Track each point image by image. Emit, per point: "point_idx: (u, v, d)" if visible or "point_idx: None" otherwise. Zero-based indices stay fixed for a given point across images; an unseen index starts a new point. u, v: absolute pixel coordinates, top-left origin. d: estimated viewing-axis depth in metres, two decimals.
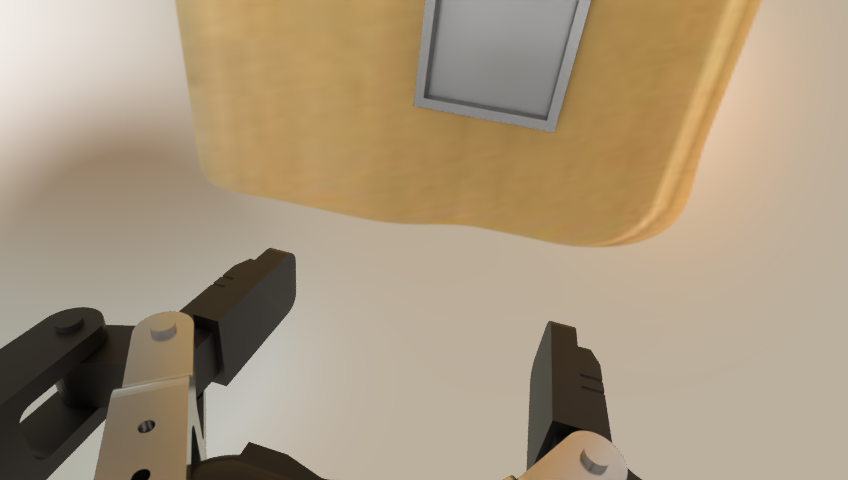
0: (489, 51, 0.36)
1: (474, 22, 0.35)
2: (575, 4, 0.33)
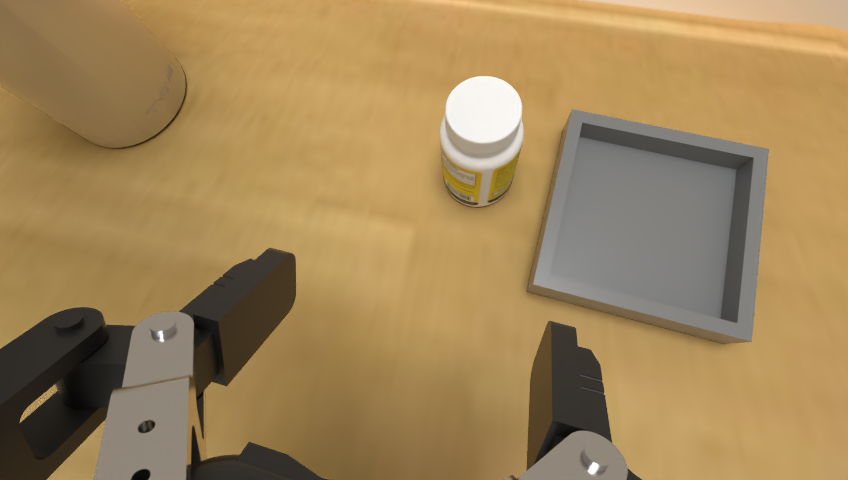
0: (656, 235, 0.28)
1: (621, 252, 0.27)
2: (605, 142, 0.30)
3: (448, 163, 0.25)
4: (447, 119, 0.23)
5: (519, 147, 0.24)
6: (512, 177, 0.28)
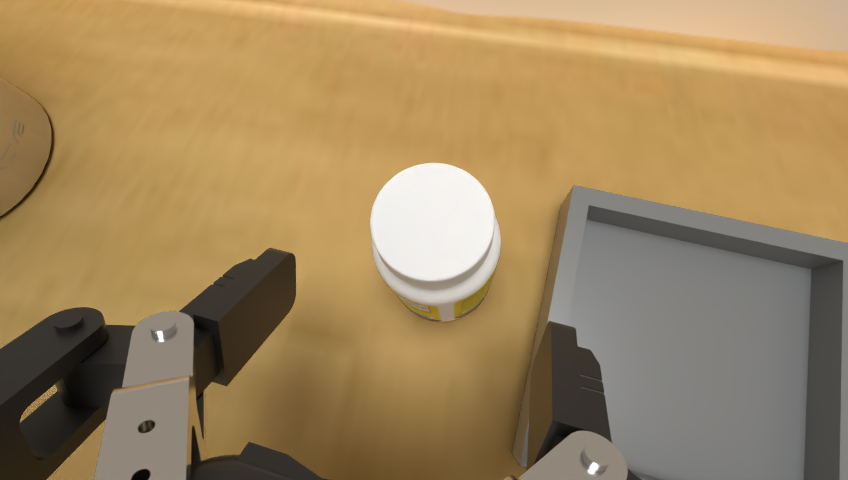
0: (700, 372, 0.19)
1: (649, 398, 0.19)
2: (621, 228, 0.21)
3: None
4: (373, 237, 0.14)
5: (494, 267, 0.15)
6: None
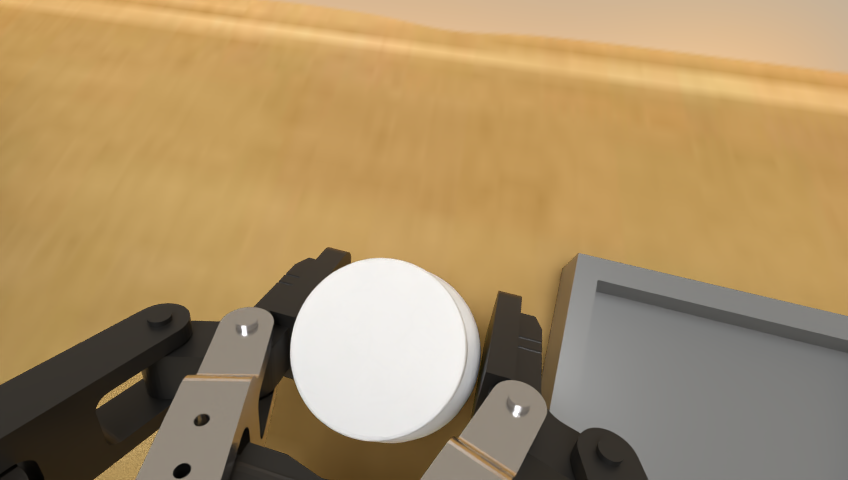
0: None
1: None
2: (637, 303, 0.17)
3: None
4: (293, 370, 0.10)
5: (470, 391, 0.11)
6: None
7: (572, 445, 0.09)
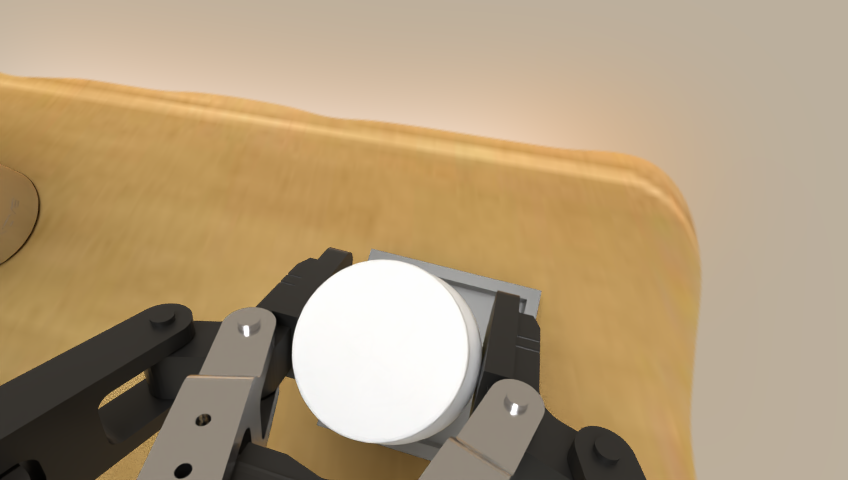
0: None
1: None
2: None
3: None
4: (295, 371, 0.10)
5: (472, 393, 0.11)
6: None
7: (570, 444, 0.09)
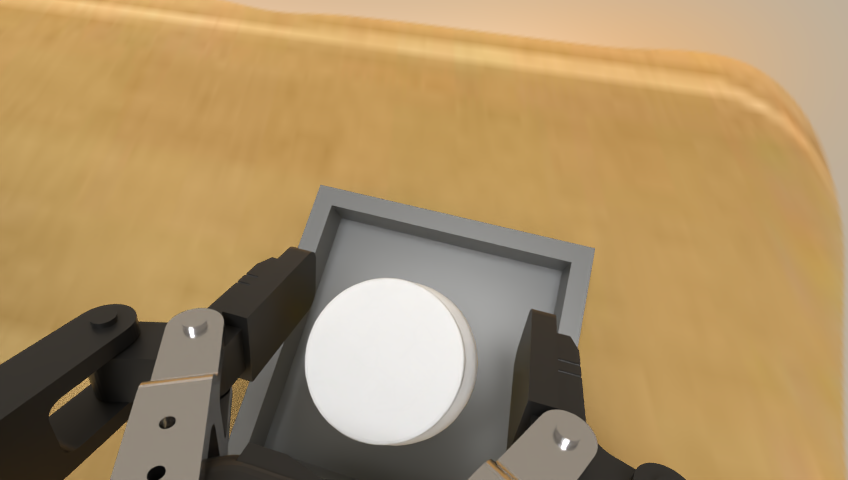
0: None
1: None
2: (381, 229, 0.20)
3: None
4: (307, 380, 0.11)
5: (467, 398, 0.12)
6: None
7: None
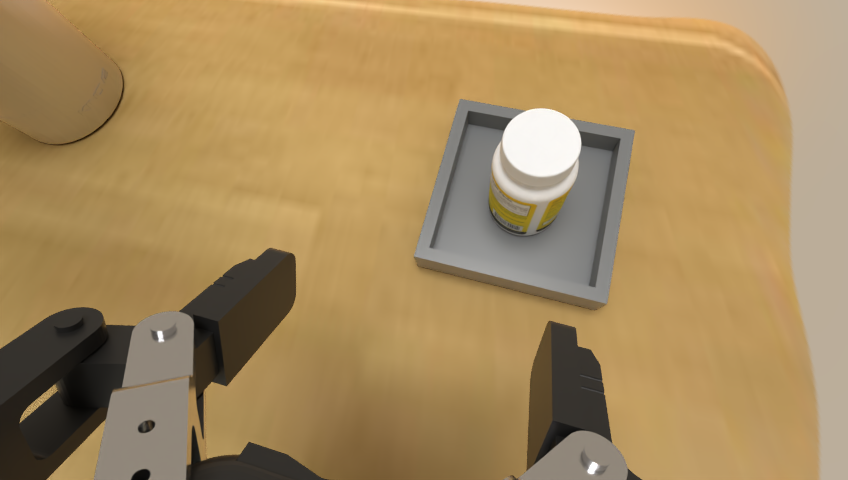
0: None
1: None
2: (494, 129, 0.32)
3: (501, 195, 0.25)
4: (505, 153, 0.22)
5: (575, 178, 0.24)
6: None
7: None
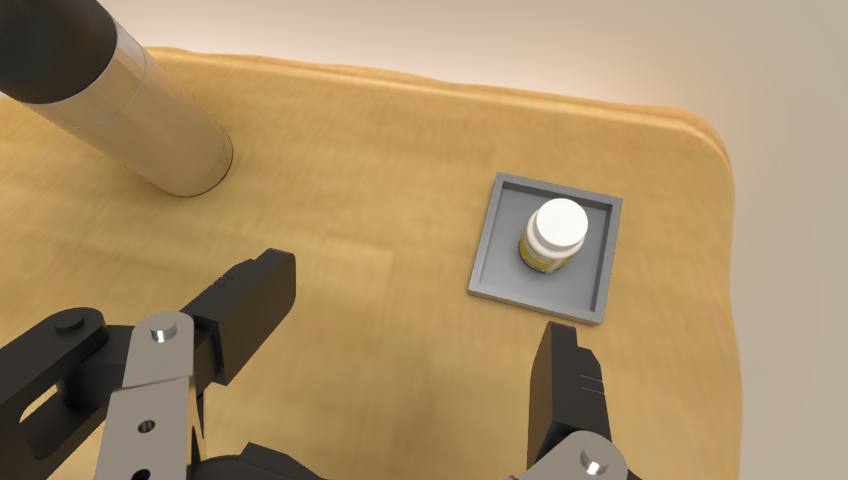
0: None
1: None
2: (521, 192, 0.44)
3: (532, 251, 0.37)
4: (538, 229, 0.34)
5: None
6: None
7: None
